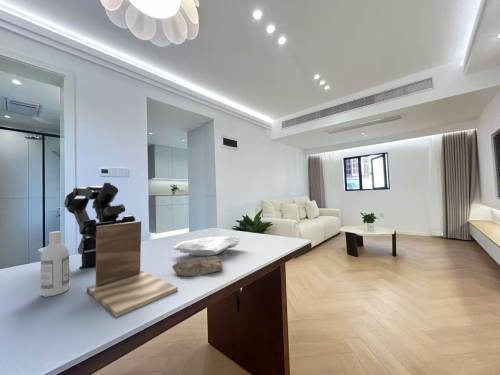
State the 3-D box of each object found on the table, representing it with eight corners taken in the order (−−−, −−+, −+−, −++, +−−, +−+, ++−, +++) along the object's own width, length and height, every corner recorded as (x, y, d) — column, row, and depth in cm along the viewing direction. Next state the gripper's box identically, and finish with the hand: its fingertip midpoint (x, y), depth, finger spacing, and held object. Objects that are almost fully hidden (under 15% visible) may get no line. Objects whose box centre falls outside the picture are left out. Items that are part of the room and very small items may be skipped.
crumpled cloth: (249, 253, 104) (248, 235, 105) (173, 263, 92) (173, 241, 93) (235, 249, 125) (234, 233, 127) (173, 256, 113) (172, 239, 115)
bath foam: (67, 285, 75) (66, 229, 76) (71, 291, 71) (70, 231, 71) (39, 293, 70) (39, 232, 70) (42, 299, 66) (42, 234, 66)
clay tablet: (171, 281, 78) (225, 272, 84) (171, 267, 78) (224, 260, 84) (173, 269, 91) (219, 262, 97) (173, 257, 92) (219, 251, 98)
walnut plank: (95, 284, 72) (96, 226, 71) (138, 271, 83) (139, 220, 82) (97, 286, 71) (98, 226, 70) (140, 273, 82) (141, 221, 81)
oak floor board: (87, 290, 71) (87, 287, 71) (141, 273, 85) (141, 270, 85) (116, 317, 55) (116, 312, 55) (177, 290, 70) (177, 286, 70)
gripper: (82, 199, 78) (94, 234, 72) (134, 197, 93) (147, 226, 88) (74, 217, 82) (84, 251, 77) (124, 212, 98) (136, 241, 92)
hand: (115, 241), depth 83 cm, fingers open, 9 cm apart
